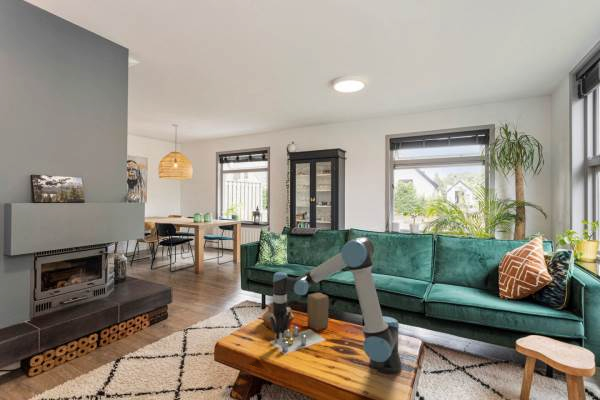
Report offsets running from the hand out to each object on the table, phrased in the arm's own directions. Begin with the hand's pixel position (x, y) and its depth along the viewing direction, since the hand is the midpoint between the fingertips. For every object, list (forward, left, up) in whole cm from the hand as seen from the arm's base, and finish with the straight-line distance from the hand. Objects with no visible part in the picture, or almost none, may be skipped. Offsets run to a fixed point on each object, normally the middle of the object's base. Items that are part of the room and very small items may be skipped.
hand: (279, 344), depth 158 cm
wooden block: (+10, -34, -3) cm, 36 cm away
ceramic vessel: (+22, -12, -3) cm, 25 cm away
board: (0, -12, -2) cm, 12 cm away
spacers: (0, -7, -1) cm, 7 cm away
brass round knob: (0, -6, -1) cm, 6 cm away
